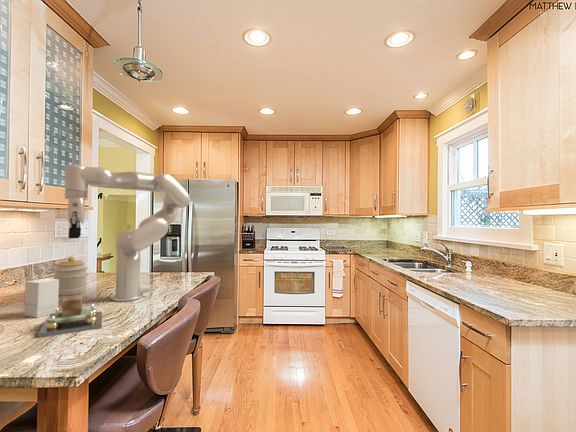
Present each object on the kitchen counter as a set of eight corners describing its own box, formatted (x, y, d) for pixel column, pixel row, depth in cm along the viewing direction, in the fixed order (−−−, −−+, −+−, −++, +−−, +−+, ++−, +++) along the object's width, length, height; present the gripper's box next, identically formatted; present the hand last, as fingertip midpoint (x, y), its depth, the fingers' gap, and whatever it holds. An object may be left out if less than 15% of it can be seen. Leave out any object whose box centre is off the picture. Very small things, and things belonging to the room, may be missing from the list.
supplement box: (58, 312, 110) (60, 279, 111) (36, 318, 103) (37, 282, 104) (45, 310, 113) (47, 277, 113) (23, 315, 106) (24, 281, 106)
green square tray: (93, 308, 105) (94, 293, 106) (92, 318, 95) (93, 300, 96) (51, 314, 99) (52, 297, 99) (45, 324, 89) (46, 305, 89)
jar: (92, 291, 144) (93, 256, 145) (62, 297, 132) (64, 258, 133) (76, 288, 149) (77, 254, 150) (46, 293, 138) (48, 256, 138)
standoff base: (101, 314, 108) (102, 301, 109) (101, 327, 95) (102, 312, 95) (46, 321, 100) (47, 307, 100) (38, 337, 86) (38, 320, 86)
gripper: (86, 194, 112) (85, 238, 112) (88, 197, 127) (86, 236, 126) (62, 193, 108) (60, 238, 108) (67, 196, 123) (65, 236, 122)
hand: (74, 237), depth 117 cm, fingers open, 9 cm apart
